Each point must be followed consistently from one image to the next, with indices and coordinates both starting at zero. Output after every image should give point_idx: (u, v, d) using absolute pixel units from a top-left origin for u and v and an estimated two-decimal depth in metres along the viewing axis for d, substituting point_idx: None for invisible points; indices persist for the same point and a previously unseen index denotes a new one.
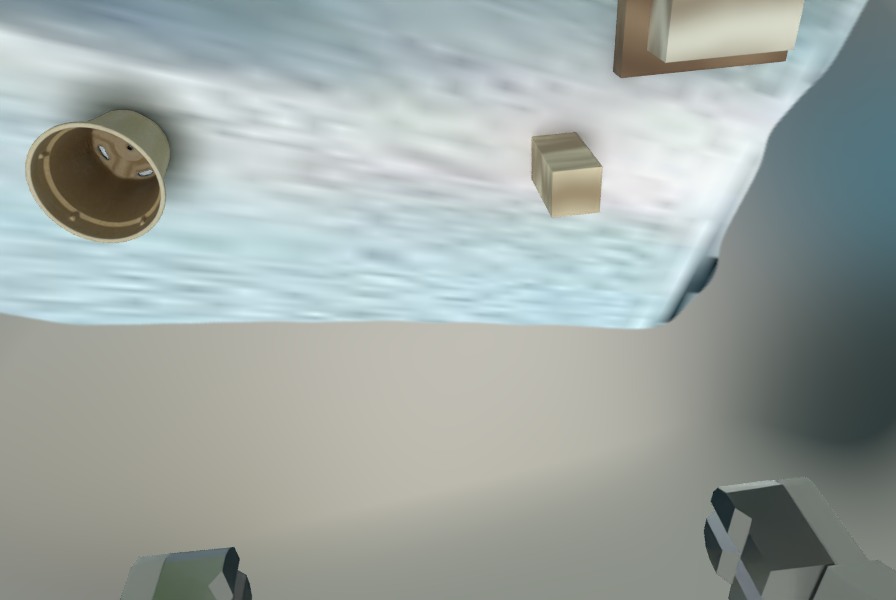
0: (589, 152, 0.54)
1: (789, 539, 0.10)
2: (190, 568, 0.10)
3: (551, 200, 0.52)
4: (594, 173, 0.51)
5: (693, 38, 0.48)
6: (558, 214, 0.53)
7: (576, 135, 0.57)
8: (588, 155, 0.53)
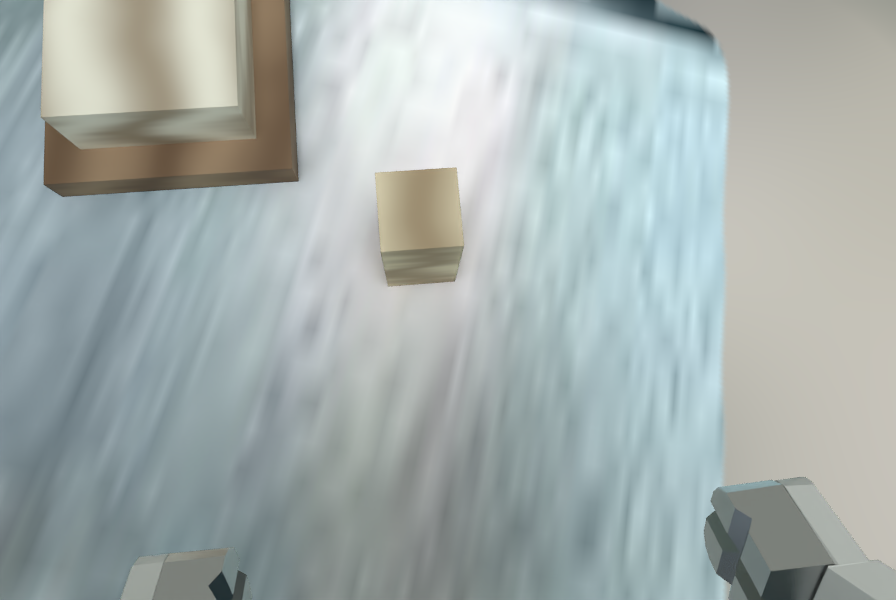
0: None
1: (790, 540, 0.10)
2: (190, 568, 0.10)
3: (434, 249, 0.31)
4: (386, 184, 0.31)
5: (205, 73, 0.34)
6: (457, 234, 0.31)
7: None
8: None
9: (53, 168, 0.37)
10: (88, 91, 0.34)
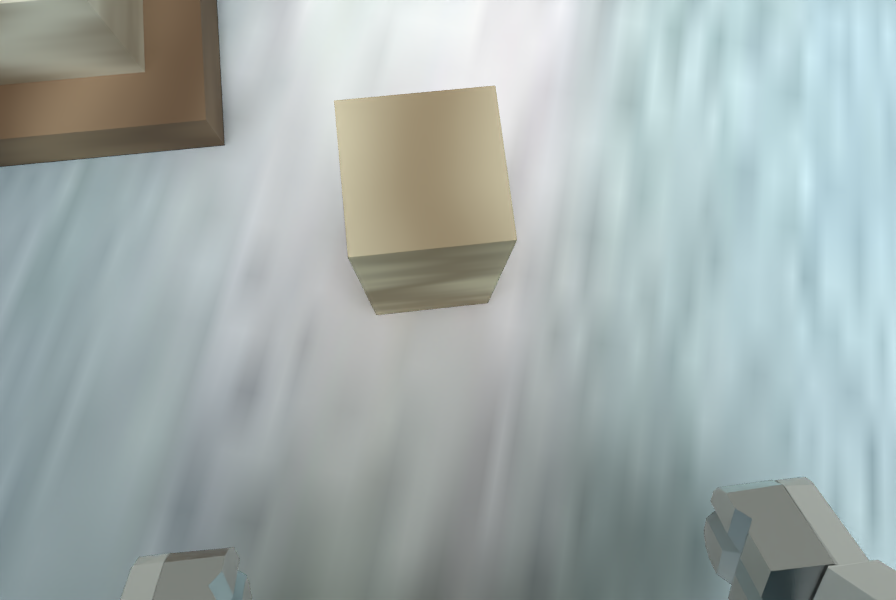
0: None
1: (790, 539, 0.10)
2: (190, 568, 0.10)
3: (456, 248, 0.15)
4: (357, 122, 0.16)
5: None
6: (503, 218, 0.15)
7: None
8: None
9: None
10: None
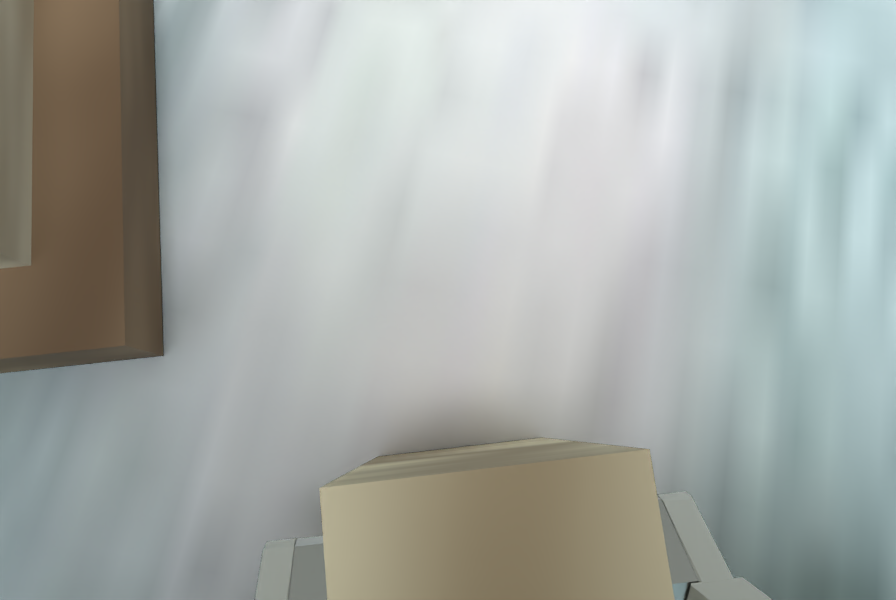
0: None
1: None
2: (322, 552, 0.10)
3: None
4: (366, 537, 0.08)
5: None
6: None
7: None
8: None
9: None
10: None
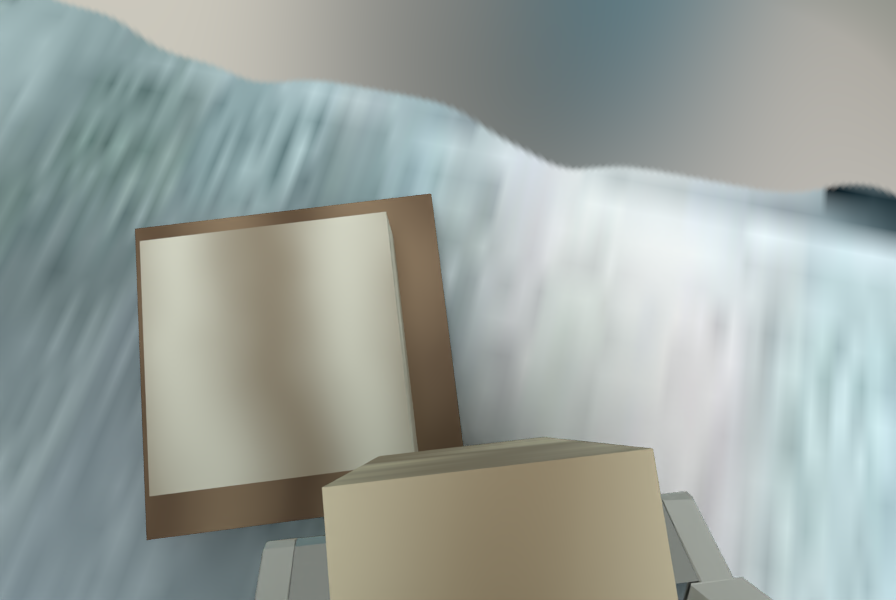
0: None
1: None
2: (322, 552, 0.10)
3: None
4: (369, 537, 0.08)
5: (367, 415, 0.25)
6: None
7: None
8: None
9: (158, 515, 0.28)
10: (211, 452, 0.25)
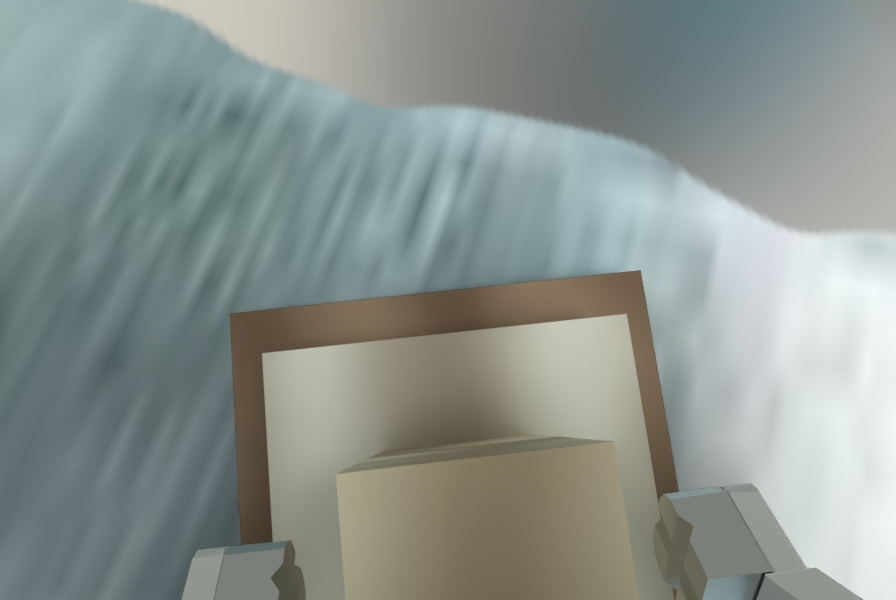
0: None
1: (730, 547, 0.10)
2: (251, 561, 0.10)
3: None
4: (375, 515, 0.09)
5: None
6: None
7: None
8: None
9: None
10: None
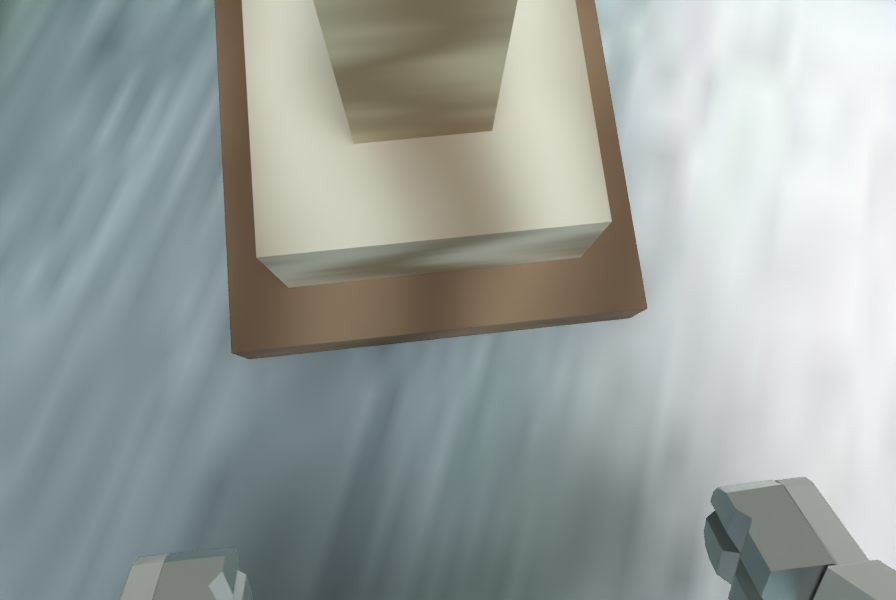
0: None
1: (790, 540, 0.10)
2: (190, 568, 0.10)
3: None
4: None
5: (546, 162, 0.19)
6: None
7: None
8: None
9: (246, 323, 0.22)
10: (338, 204, 0.18)
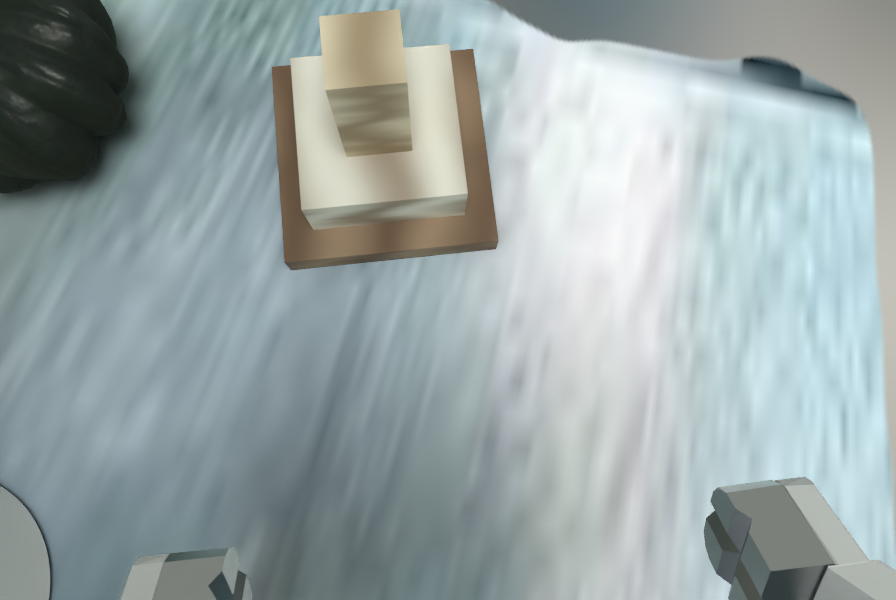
0: None
1: (790, 539, 0.10)
2: (190, 568, 0.10)
3: (378, 87, 0.32)
4: (330, 26, 0.32)
5: (437, 166, 0.39)
6: (401, 72, 0.32)
7: None
8: None
9: (292, 248, 0.42)
10: (339, 185, 0.39)
